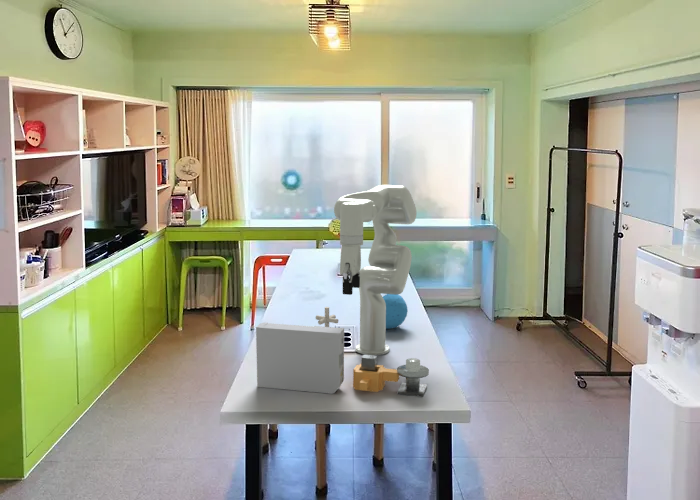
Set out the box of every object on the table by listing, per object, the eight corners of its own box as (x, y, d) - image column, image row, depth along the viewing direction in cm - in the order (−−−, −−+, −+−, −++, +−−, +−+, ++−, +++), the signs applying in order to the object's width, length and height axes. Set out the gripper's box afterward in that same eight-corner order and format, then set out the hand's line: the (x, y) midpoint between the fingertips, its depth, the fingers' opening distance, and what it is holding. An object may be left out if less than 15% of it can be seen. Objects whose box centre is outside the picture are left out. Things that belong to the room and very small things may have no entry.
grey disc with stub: (399, 383, 225) (400, 354, 223) (430, 386, 223) (431, 356, 221) (393, 395, 216) (394, 364, 214) (425, 398, 213) (426, 367, 211)
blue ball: (390, 319, 298) (390, 285, 295) (415, 330, 282) (416, 294, 279) (358, 324, 291) (358, 289, 288) (382, 336, 275) (383, 299, 272)
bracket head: (358, 380, 228) (358, 363, 226) (400, 384, 224) (401, 367, 223) (348, 394, 216) (348, 375, 215) (393, 398, 213) (393, 380, 211)
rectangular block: (363, 384, 225) (363, 354, 223) (376, 385, 223) (377, 355, 221) (361, 387, 222) (361, 357, 220) (374, 388, 220) (374, 358, 219)
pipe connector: (330, 336, 274) (330, 312, 272) (309, 332, 279) (309, 308, 277) (344, 330, 282) (344, 306, 280) (324, 326, 287) (324, 303, 285)
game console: (263, 380, 227) (261, 322, 224) (344, 387, 221) (344, 327, 218) (256, 387, 222) (255, 327, 218) (339, 394, 216) (340, 333, 212)
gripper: (347, 235, 236) (347, 284, 239) (333, 243, 220) (333, 296, 223) (368, 236, 234) (368, 285, 237) (356, 245, 218) (355, 297, 221)
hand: (351, 290), depth 230 cm, fingers open, 9 cm apart
